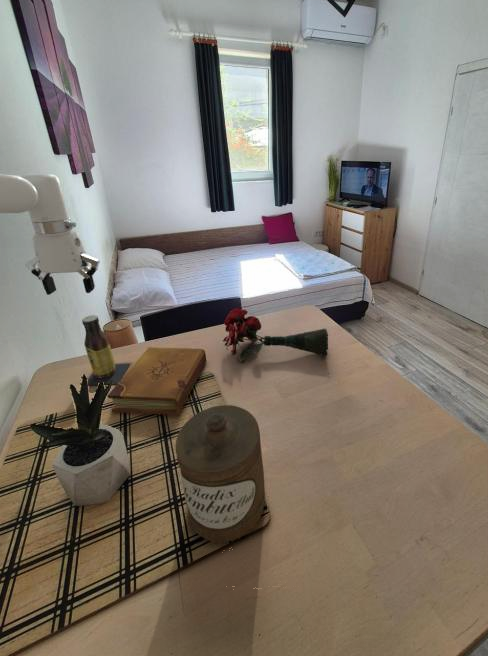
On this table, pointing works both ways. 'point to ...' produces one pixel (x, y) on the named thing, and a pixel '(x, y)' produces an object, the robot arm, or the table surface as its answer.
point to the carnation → (249, 327)
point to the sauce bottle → (98, 348)
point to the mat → (115, 376)
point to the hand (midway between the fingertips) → (71, 291)
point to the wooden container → (222, 472)
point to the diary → (158, 381)
